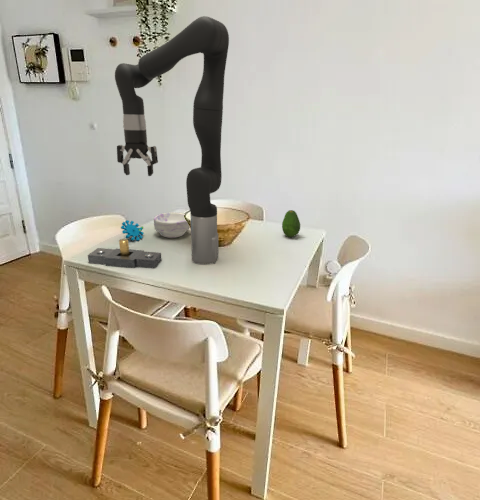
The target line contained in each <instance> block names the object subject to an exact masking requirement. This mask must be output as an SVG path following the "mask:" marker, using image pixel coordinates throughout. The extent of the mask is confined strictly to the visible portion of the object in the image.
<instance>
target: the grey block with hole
mask: <svg viewBox="0 0 480 500" xmlns="http://www.w3.org/2000/svg"><path fill="white" fill-rule="evenodd" d="M129 255H130V256H129V257H124V256H121V254H120V248H102V247H101V248H100V247H97V248H96V249H94V250H92V251H91V252H90V253H88V254H87V259H88V261H87V262H88V263H89V264H97V265H105V266H106V267H116V268H117V267H118V268H131V269H135V268H144V269H156V268H157V267H158V265H159V264H160V263H161V262H162V252H156V251H155V252H154V251H145V250H143V249H130V248H129Z"/></svg>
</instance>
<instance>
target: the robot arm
mask: <svg viewBox="0 0 480 500" xmlns="http://www.w3.org/2000/svg"><path fill="white" fill-rule="evenodd" d="M228 31H229V30H228V29H227V27H226V25H225V24H224V23H223V22H221V21H219V20H217V19H214V18H212V17H210V16H205V15H204V16H200V17H197V18H196V19H195V20H193V21H192V22H191V23H190V24H188V25H187V26H186V27H185V28H183V29H182V30H181V31H180V32H179V33H177V34H176V35H175V36H173V38H171V39H170V40H169V41H166V42H165V43H164V44H162V45H160V46H159V47H157V48H155V49H153V50H151V51H150V52H146V54H144V55H142V56H141V57H140V58H139V59H138V61H137V63H138V64H129V63H119V64H118V65H117V66H116V68H115V70H114V81H115V84H116V88H117V90H118V94H119V96H120V99H121V103H122V114H123V116H122V119H123V120H122V123H123V126H122V128H123V134H124V142H125V145H123V144H118V145H117V146H116V155H117V156H116V157H117V158H116V159H117V161H116V162H117V163H118V164H119V163H120V164H122V165H123V173H124V174H125V175H126V176H129V175H130V174H131V172H130V171H131V170H130V164H129V162H130V161H131V160H132V159H142V160H143V161H144V162H145V163H146V165H147V166H146V167H147V177H151V176H153V174H154V165H156V164H158V162H159V160H158V151H157V150H158V149H157V146H155V145H153V146H148V138H147V137H148V135H147V124H146V123H147V122H146V118H145V105H144V99H143V98H142V97H141V96H139V95H138V94H137V92H136V89H142V88H144V87H146V86H147V85H148V84H150V82H152V81H153V80H154V79H156V78H158V77H160V76H162V75H164V74H166V73H169V71H170V70H173V69H174V67H175V66H176V65H177V64H178V63H179V62H181V60H183V59H184V58H186V57H189V56H192V55H195V54H196V55H197V54H202V55H203V70H202V75H201V76H202V77H201V80H200V83H199V85H198V87H197V90H196V93H195V96H194V100H193V109H192V111H193V112H192V114H193V115H192V124H193V125H192V126H193V130H194V133H195V135H196V138H197V140H198V143H199V147H200V150H201V163H200V167H196V168H193V169H191V170H190V171H188V173H187V176H186V183H185V184H186V187H185V188H186V197H187V198H186V199H187V206H188V208H189V212H190V215H189V216H190V240H191V241H190V242H191V248H190V249H191V262H192V263H194V264H198V265H211V264H212V265H213V264H214V265H215V264H216V262H217V261H218V259H219V233H218V207H217V206H216V205H215V204H214V203H212V202H211V194H213V193H216V192H217V191H219V189H220V188H221V184H222V176H223V175H222V160H221V159H222V157H221V154H222V153H221V151H222V149H221V146H222V129H223V126H222V125H223V113H224V111H223V110H224V109H223V108H224V92H225V90H224V89H225V88H224V87H225V73H226V65H227V60H228V51H229V44H230V37H229V36H230V35H229V32H228ZM124 151H126V155H125V156H124ZM148 152H149V153H150V154H151V156H149V154H148ZM150 157H151V158H150Z"/></svg>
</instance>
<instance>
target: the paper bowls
mask: <svg viewBox="0 0 480 500" xmlns="http://www.w3.org/2000/svg"><path fill="white" fill-rule="evenodd" d="M184 215H185V213H180V212H163V213H160V214H157V215H155V216H154V217H153V226H154V227H153V228H154V230H155V231H156V232H158V233H159V234H160V236H162V237H164V238H166V239H167V238H168V239H169V238H171V239H175V238H180V237H182V236H184V235H185V233H186V232H187V231H188V230H190V229H191V226H190V227H189V225H188V223H187V221H186V220H185V218H184Z"/></svg>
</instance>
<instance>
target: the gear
mask: <svg viewBox="0 0 480 500" xmlns="http://www.w3.org/2000/svg"><path fill="white" fill-rule="evenodd" d="M134 223H135V222H134V221H133V220H131V221H130V220H127V219H126V220H125V221H123V222H122V223H121V226H120V229H121V230H122V231H121V232H122V234H123V235H124V234H126V235H125V239H129V238H130V237H131V238H130V240H131V241H133V242H134V241H137V242H139V241H140V240H141V239H144V236H143V235H144V232H143V231H142V230H143V229H144V226H140V225H139V223H135V224H134ZM139 226H140V227H139Z"/></svg>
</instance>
